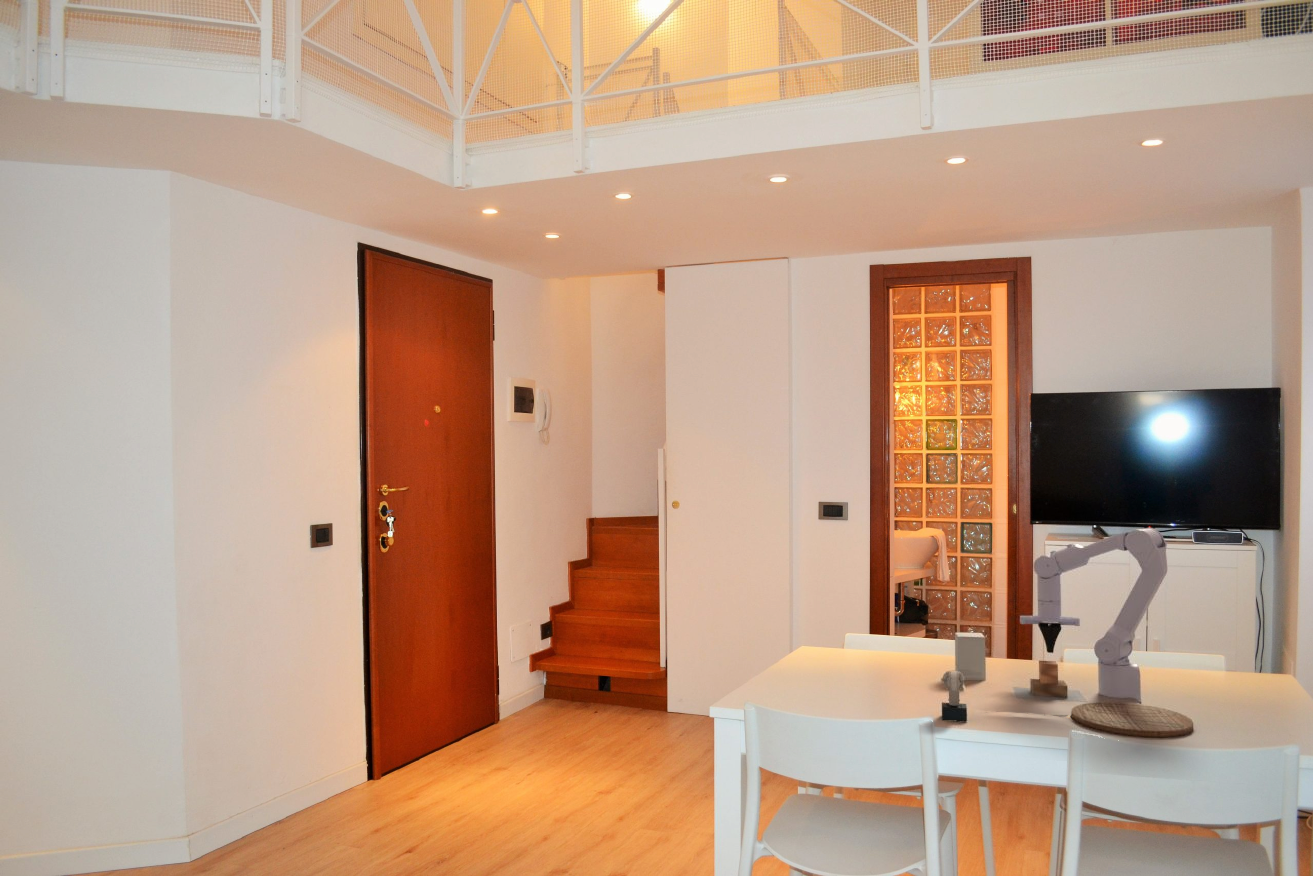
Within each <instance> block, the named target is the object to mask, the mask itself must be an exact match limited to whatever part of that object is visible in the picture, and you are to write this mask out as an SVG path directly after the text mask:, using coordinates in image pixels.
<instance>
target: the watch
mask: <svg viewBox="0 0 1313 876" xmlns="http://www.w3.org/2000/svg"><path fill="white" fill-rule="evenodd" d="M940 681H941V682H943V685H944V687H945V688H946V691H947V692H948V702H941V720H942V721H945V720H956V721H955V722H960V721H967V722H968V707H967V706H968V705H967V703H960V702H961V699H960V692H961V691H962V689H963V686H964V685H965V680H964V676H963V675H962V674H961V672H959V671H955V670H947V671H945V672H944V674H943V675H942V677H941V678H940Z"/></svg>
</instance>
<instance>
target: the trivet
mask: <svg viewBox="0 0 1313 876" xmlns="http://www.w3.org/2000/svg"><path fill="white" fill-rule="evenodd" d="M1071 719H1072V720H1073V721H1074V722H1075V724H1078V725H1079V726H1082V727H1084V728H1087V729H1090V730H1093V731H1097V732H1101V733H1106V734H1111V735H1116V736H1123V737H1132V738H1133V737H1134V738H1143V739H1170V738H1171V739H1173V738H1178V737H1179V738H1180V737H1185V736H1187V735H1190V734H1192V732H1193V731H1194V721H1193V720H1192V719H1191V718H1190V717H1188V716H1187V715H1186V714H1182V713H1179V712H1177V711H1174V710H1170V709H1166V708H1161V707H1156V706H1151V705H1144V704H1138V703H1127V702H1126V703H1125V702H1113V701H1112V702H1109V701H1107V702H1106V701H1105V702H1103V701H1101V702H1089V703H1082V704H1079V705H1076V706H1074V707H1073V708H1071Z"/></svg>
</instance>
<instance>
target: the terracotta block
mask: <svg viewBox="0 0 1313 876" xmlns="http://www.w3.org/2000/svg"><path fill="white" fill-rule="evenodd" d="M1038 679H1039V681H1040V683H1041V684H1058V680H1059V664H1058V663H1057V661H1056V660H1054V661H1053V660H1038Z"/></svg>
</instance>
